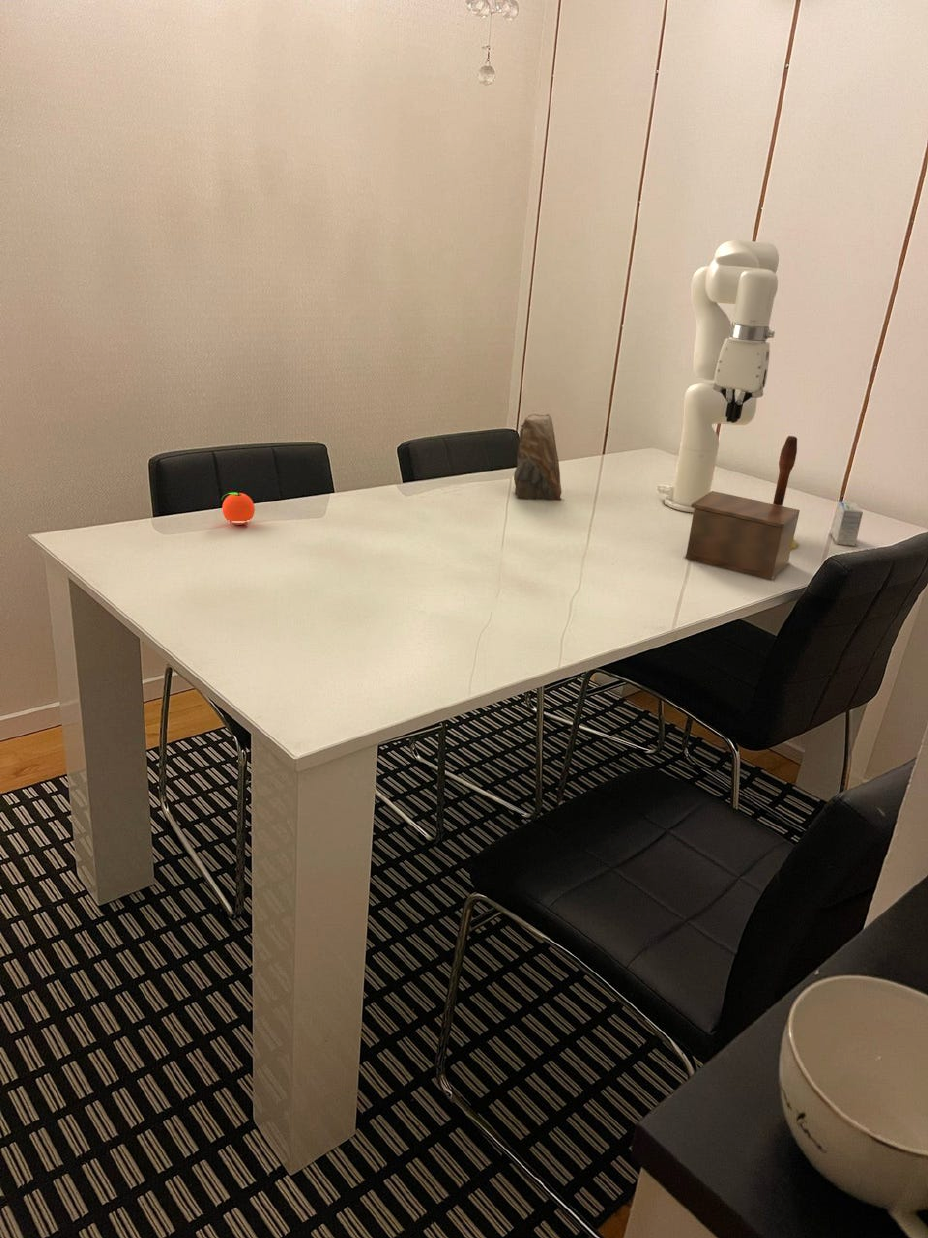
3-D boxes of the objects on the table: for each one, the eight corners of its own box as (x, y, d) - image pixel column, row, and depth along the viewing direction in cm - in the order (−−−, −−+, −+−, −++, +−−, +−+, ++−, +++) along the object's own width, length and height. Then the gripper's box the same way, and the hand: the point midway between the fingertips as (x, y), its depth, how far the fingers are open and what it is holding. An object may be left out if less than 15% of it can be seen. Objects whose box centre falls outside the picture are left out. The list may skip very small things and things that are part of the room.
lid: (691, 507, 202) (691, 503, 202) (711, 494, 213) (712, 490, 213) (782, 528, 193) (783, 524, 193) (799, 513, 204) (800, 509, 204)
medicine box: (855, 546, 223) (864, 512, 220) (835, 544, 224) (844, 509, 220) (849, 536, 230) (857, 502, 227) (830, 534, 231) (838, 500, 228)
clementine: (212, 524, 204) (210, 492, 201) (230, 516, 210) (229, 485, 207) (243, 531, 201) (242, 499, 198) (261, 522, 207) (260, 491, 204)
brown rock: (514, 499, 238) (521, 421, 230) (504, 485, 250) (511, 410, 242) (561, 500, 241) (571, 423, 233) (550, 486, 252) (558, 412, 244)
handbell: (759, 529, 230) (780, 428, 220) (806, 543, 223) (830, 439, 212) (733, 538, 222) (754, 434, 212) (780, 553, 214) (804, 445, 204)
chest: (685, 558, 206) (694, 508, 202) (705, 543, 217) (714, 495, 213) (771, 580, 198) (782, 528, 193) (787, 562, 209) (799, 513, 204)
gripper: (788, 337, 195) (770, 424, 202) (719, 328, 202) (704, 413, 209) (779, 339, 189) (761, 430, 196) (708, 330, 196) (692, 417, 203)
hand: (731, 421), depth 202 cm, fingers closed
